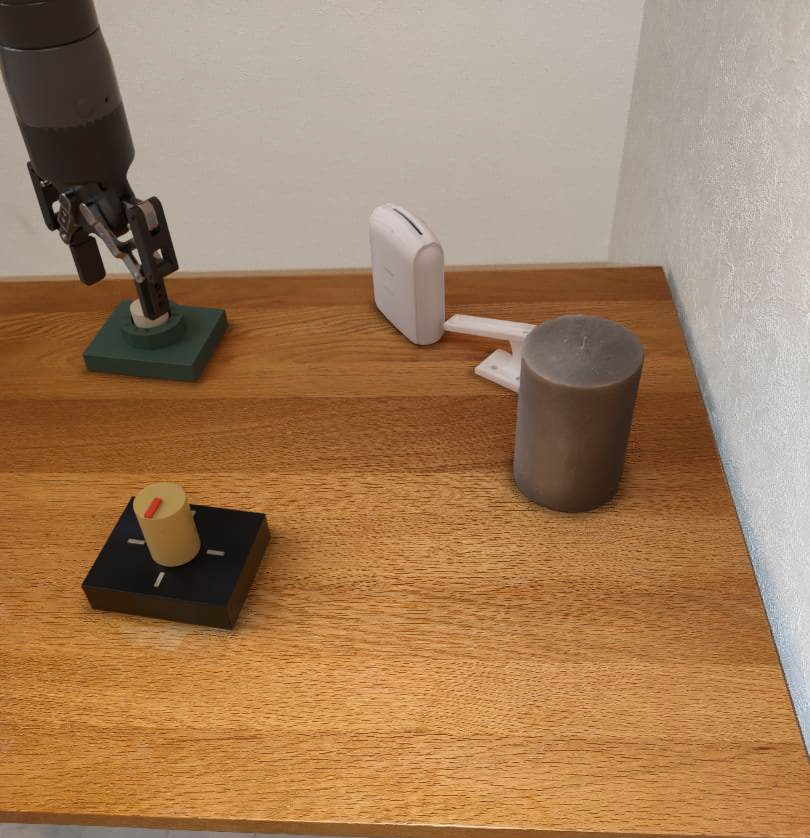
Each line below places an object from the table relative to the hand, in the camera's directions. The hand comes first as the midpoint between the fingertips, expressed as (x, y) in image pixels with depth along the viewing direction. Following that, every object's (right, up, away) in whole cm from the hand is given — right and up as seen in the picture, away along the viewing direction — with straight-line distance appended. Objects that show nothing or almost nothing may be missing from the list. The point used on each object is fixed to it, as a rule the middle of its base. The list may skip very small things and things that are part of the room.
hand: (125, 297), depth 76 cm
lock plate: (+5, -23, -2) cm, 24 cm away
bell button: (-3, +2, +17) cm, 17 cm away
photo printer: (+24, +3, +21) cm, 32 cm away
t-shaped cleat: (+36, -5, +14) cm, 39 cm away
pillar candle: (+38, -15, +5) cm, 41 cm away
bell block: (-2, 0, +19) cm, 20 cm away
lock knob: (+5, -21, -4) cm, 22 cm away
